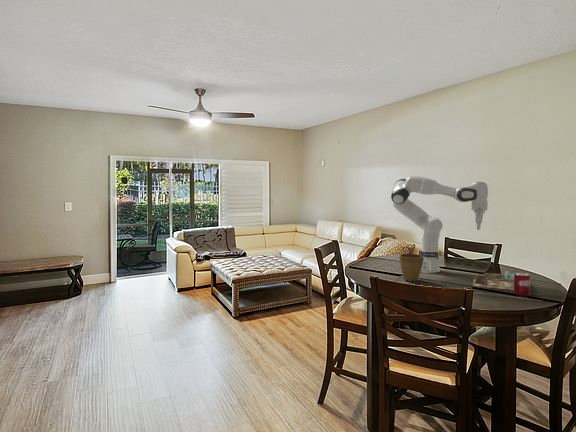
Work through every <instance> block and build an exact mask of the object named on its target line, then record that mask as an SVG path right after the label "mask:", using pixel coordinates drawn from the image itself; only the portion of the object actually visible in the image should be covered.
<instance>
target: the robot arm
mask: <svg viewBox="0 0 576 432" xmlns="http://www.w3.org/2000/svg"><path fill="white" fill-rule="evenodd" d="M411 193H417V194H420V195H428V196H431V195H432V196H433V195H442V196H446V197H451V198H453V199H455V200H456V201H458V202H461V203H467V202H471V208H470V209H471V211H473V213H474V215H475V218H474V219H475V220H474V221H475V223H476V230H477V231H479V230H481V225H482V223H483V218H484V214H485V213H486V211H488V206H489V205H488V204H489V202H488V197H489V188H488V184H487V183H486V182H482V181H474V182H471V183H470V184H468V185H465V186H461V187H453V186H447V185H443V184H441V183H439V182H438V181H436V180H434V179H431V178H429V177H425V176H424V177H423V176H418V175H417V176H416V175H415V176H414V175H410V176H408V177H407V178H401V179H398V180H397V181H396V182H395V183H394V185H393V188H392V192H391V195H390V197H391V201H392V207H394V208H395V210H396V211H398V212H399V213H400V214H401V215H403V216H404V217H405V218H407V219H408V220H410V221H411V222H413V223H414V225H416V226H418V227H419V228H420V229H421V230H423V235H422V238H421V249H419V250H418V254H417V255H422V256H424V259H423V264H422V268H421V271H420V273H425V274H431V273H439V272H441V268H440V264H439V262H440V261H439V259H440V251H439V241H440V234H441V231H442V229H443V227H444V226H443V222H442V220H440V218H438V217H436V216H435V217H434V216H432V215H429V214H428V213H427V212H426V211H425V209H423V208H422V207H420V206H419V205H417V204H416V203H415V202H413V201H412V200H410V199H409V197H410V195H411Z"/></svg>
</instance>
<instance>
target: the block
mask: <svg viewBox="0 0 576 432" xmlns="http://www.w3.org/2000/svg"><path fill="white" fill-rule="evenodd" d="M475 279H476V283H481V284H484V280H485V274H482V273H481V274H480V273H479V274H478V273H475Z"/></svg>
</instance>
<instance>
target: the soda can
mask: <svg viewBox="0 0 576 432" xmlns="http://www.w3.org/2000/svg"><path fill="white" fill-rule="evenodd" d="M513 274H514V282H513V283H514V290H513V294H515V296H516V297H517V298H522V299H523V298H524V299H526V298H527V299H528V298H529V297H528V296H530V295H531V275H530V273H527V272H526V273H525V272H515V273H513Z"/></svg>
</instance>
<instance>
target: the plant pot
mask: <svg viewBox="0 0 576 432" xmlns="http://www.w3.org/2000/svg"><path fill="white" fill-rule="evenodd" d="M398 256H399V263H400V268H401V273H402V276H403V278H404V280H405V281H406V280H408V281H407V282H412V281H414V282H417V281H418V279H419V276H420V274H421V272H420V271H421V268H422V264H423V259H424V256H422V255H418V254H415V253H401V254H398Z"/></svg>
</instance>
